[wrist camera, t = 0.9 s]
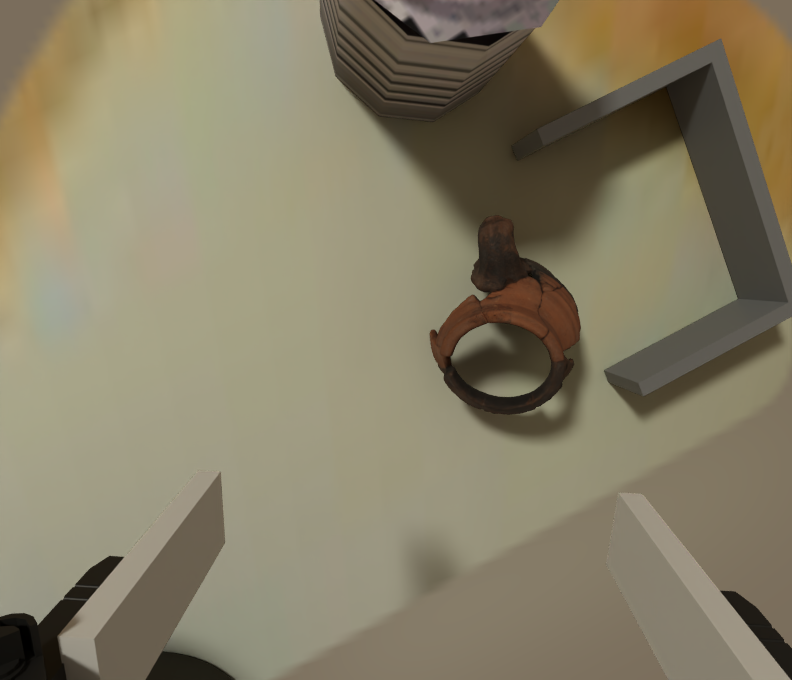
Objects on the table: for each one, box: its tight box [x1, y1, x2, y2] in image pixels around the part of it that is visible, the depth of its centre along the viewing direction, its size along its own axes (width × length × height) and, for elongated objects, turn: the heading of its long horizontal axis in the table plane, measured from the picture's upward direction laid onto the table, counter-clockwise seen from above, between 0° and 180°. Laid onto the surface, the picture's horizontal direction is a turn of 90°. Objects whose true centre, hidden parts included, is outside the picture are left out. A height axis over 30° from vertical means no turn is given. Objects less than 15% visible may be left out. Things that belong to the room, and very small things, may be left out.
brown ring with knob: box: [430, 215, 581, 415], centre depth 31 cm, size 12×10×8 cm
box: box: [512, 39, 792, 396], centre depth 32 cm, size 12×18×4 cm
